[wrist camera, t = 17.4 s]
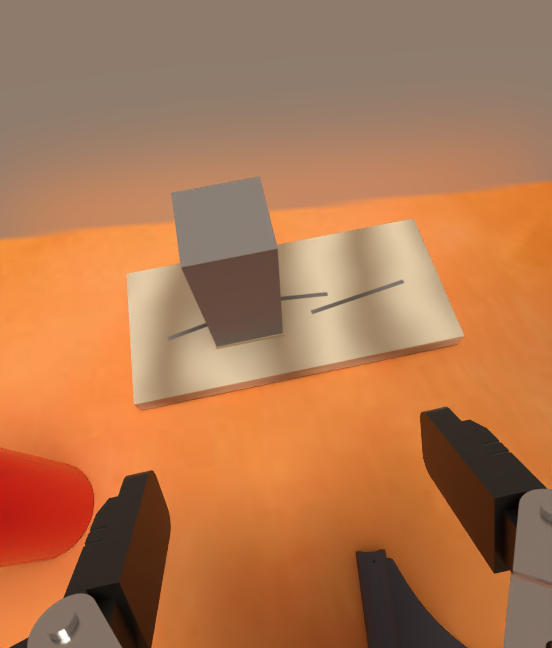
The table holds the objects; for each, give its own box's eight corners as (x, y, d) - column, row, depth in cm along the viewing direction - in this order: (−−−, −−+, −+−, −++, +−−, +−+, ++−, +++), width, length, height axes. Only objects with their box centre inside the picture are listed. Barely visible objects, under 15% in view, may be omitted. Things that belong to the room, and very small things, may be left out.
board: (408, 230, 33) (413, 218, 32) (456, 344, 29) (464, 335, 28) (133, 284, 32) (126, 273, 31) (141, 410, 28) (133, 404, 27)
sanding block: (270, 278, 30) (260, 175, 21) (283, 335, 28) (279, 249, 19) (207, 290, 30) (170, 192, 21) (216, 349, 28) (180, 268, 19)
